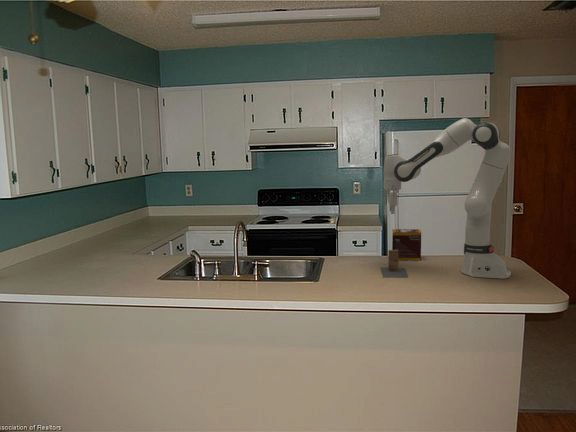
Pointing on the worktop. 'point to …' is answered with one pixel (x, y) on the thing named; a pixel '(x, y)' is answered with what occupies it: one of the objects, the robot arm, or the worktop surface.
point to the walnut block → (393, 260)
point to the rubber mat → (394, 273)
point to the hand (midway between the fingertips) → (392, 212)
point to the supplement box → (407, 244)
